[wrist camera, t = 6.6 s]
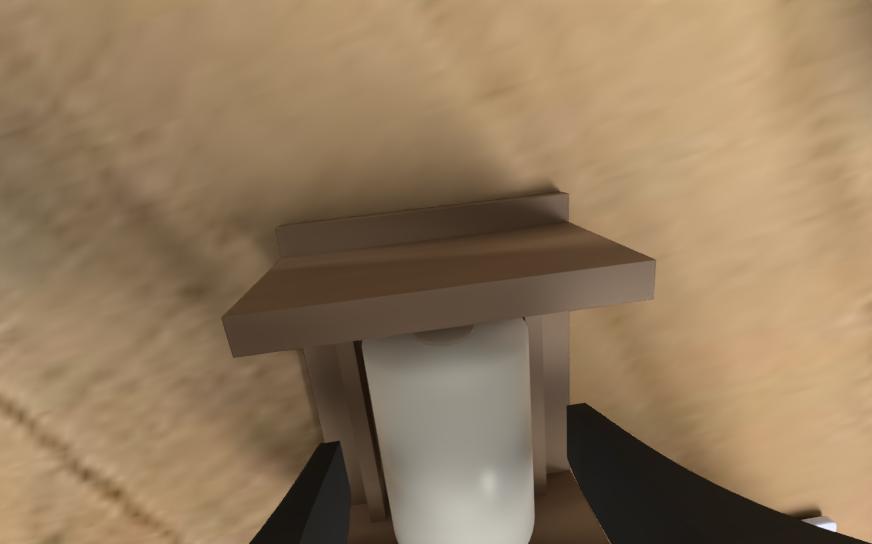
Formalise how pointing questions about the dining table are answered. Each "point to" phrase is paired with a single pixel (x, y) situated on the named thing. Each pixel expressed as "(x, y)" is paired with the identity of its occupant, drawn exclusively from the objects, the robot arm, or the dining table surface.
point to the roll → (455, 432)
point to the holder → (439, 324)
